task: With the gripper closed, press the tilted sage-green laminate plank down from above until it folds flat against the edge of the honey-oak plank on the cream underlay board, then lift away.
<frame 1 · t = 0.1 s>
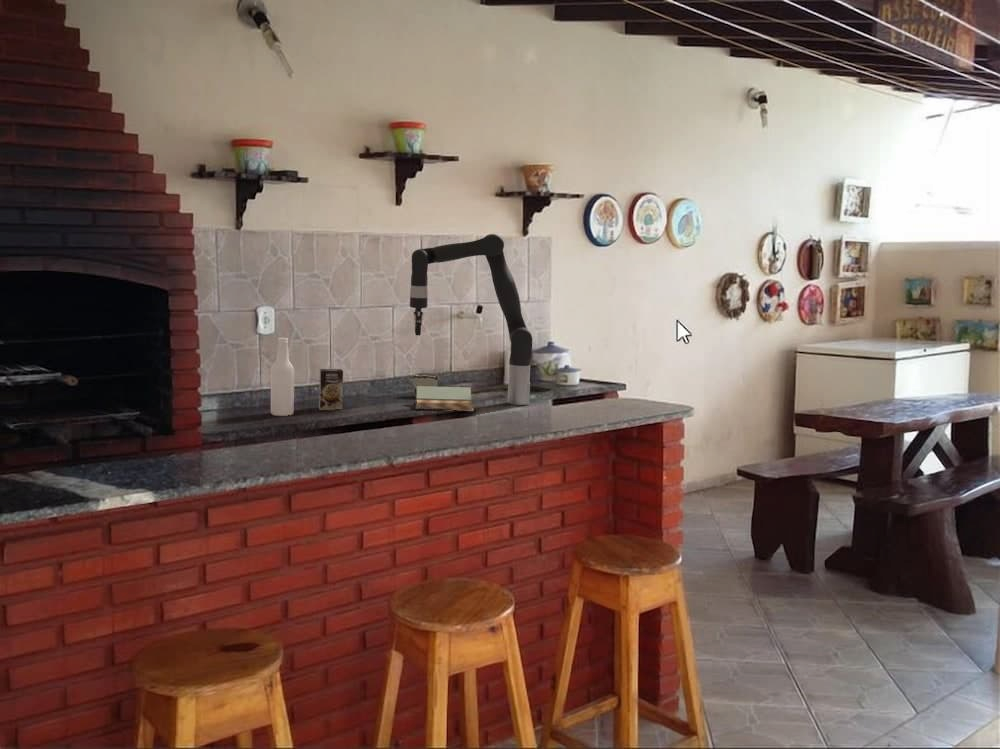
hand: (417, 334, 404), 29 cm above the counter, tool pointing down, fingers open, 8 cm apart
food container: (426, 396, 421), on the counter
coffee box: (330, 409, 383), on the counter
alcohol: (282, 414, 368), on the counter
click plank: (443, 394, 401), point 4 cm above the counter, hinge at 30.0°
floor frame: (443, 406, 398), on the counter
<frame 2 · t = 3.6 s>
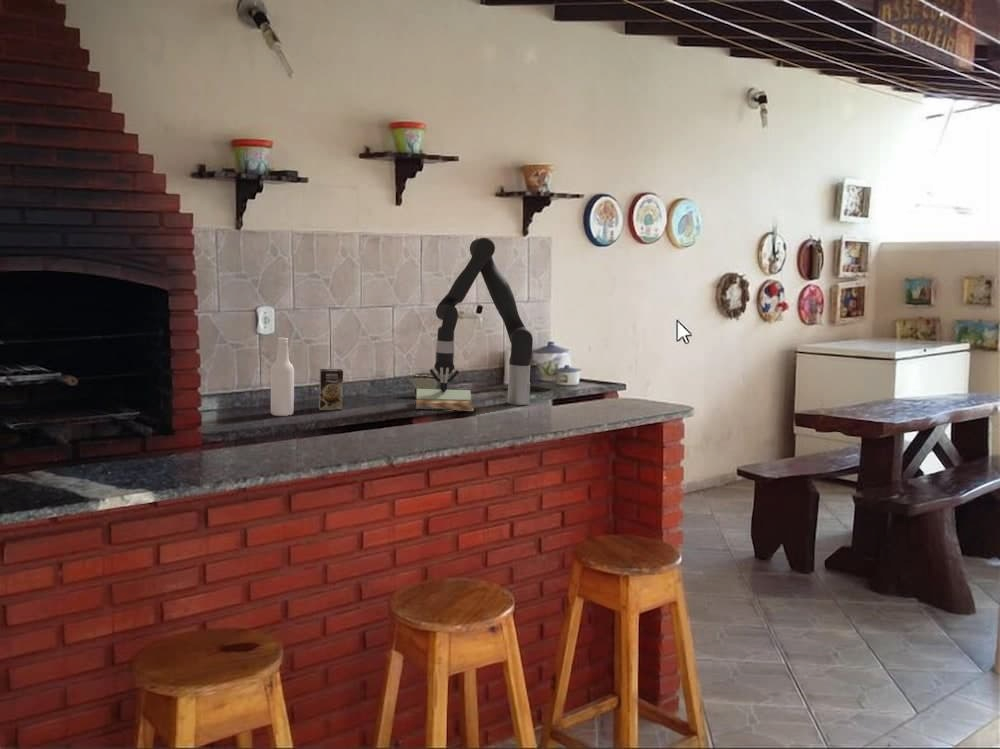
hand: (443, 391, 402), 6 cm above the counter, tool pointing down, fingers closed
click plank: (443, 396, 401), point 4 cm above the counter, hinge at 20.9°, touching gripper
everything else where it was.
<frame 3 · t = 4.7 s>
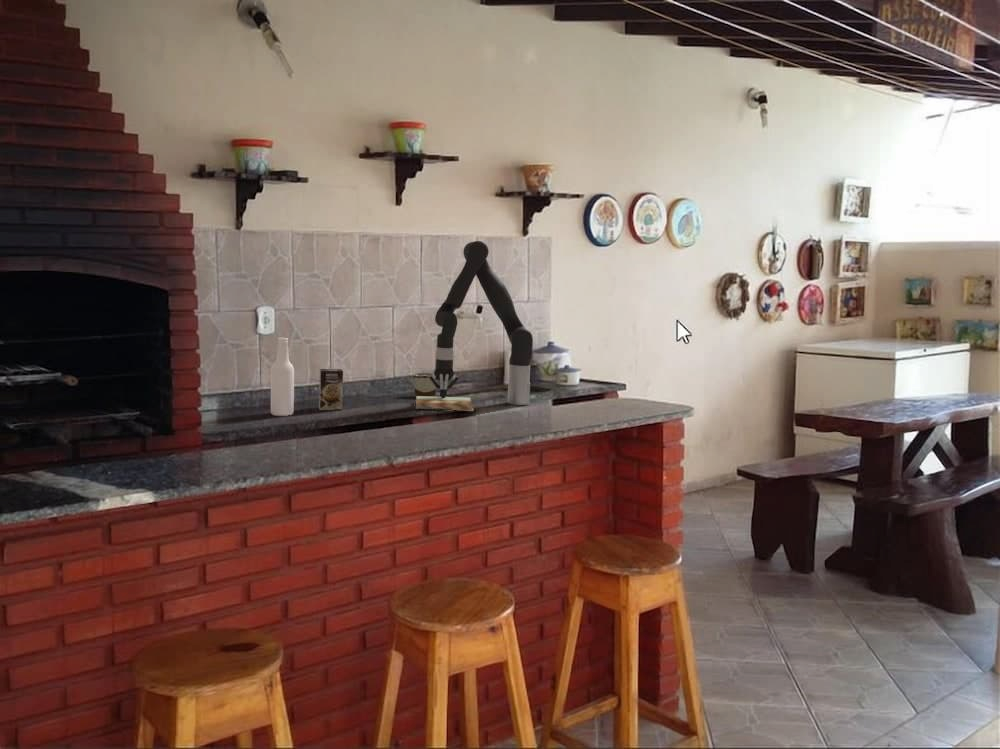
hand: (443, 397, 403), 3 cm above the counter, tool pointing down, fingers closed
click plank: (443, 401, 401), point 2 cm above the counter, hinge at -0.5°, touching gripper
everything else where it was.
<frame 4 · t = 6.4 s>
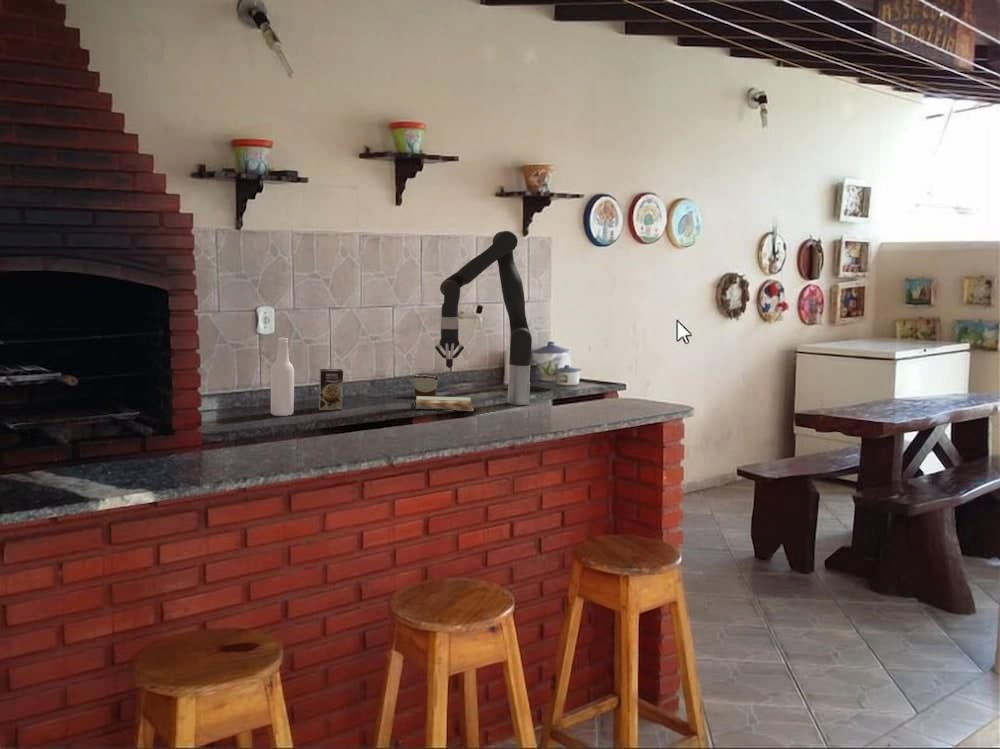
hand: (449, 367, 403), 16 cm above the counter, tool pointing down, fingers closed
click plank: (443, 401, 401), point 2 cm above the counter, hinge at -0.5°
everything else where it was.
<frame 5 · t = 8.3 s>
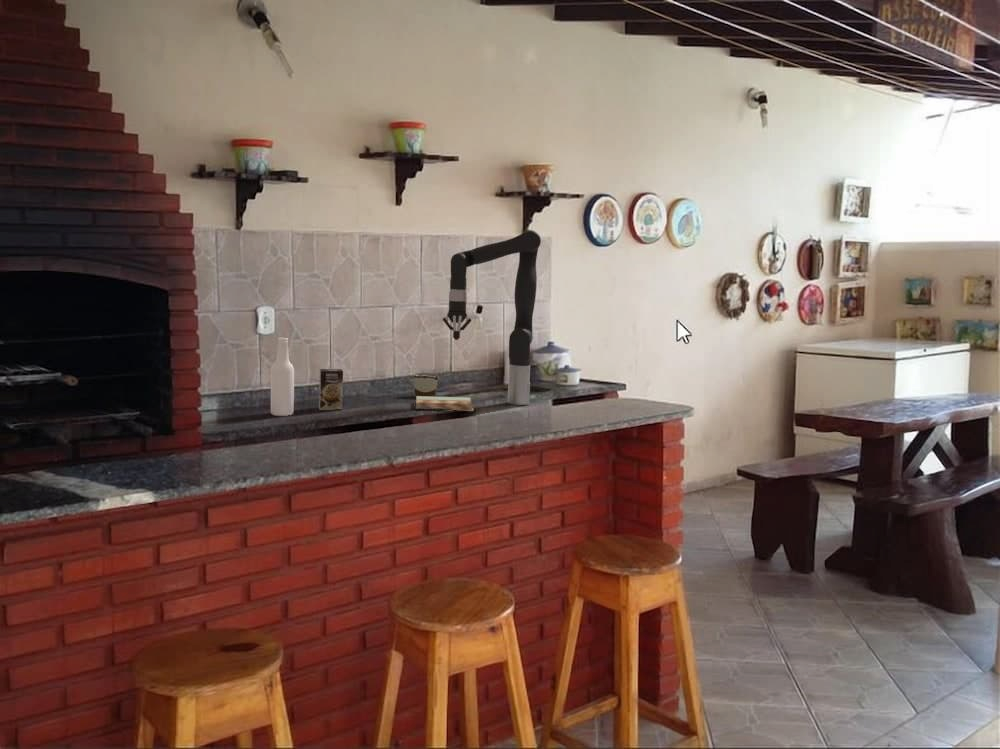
hand: (456, 339, 409), 27 cm above the counter, tool pointing down, fingers closed
nothing on the counter moved.
at the end: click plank at +0° (first picture: +30°); food container moved 0.2 cm from its start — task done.
